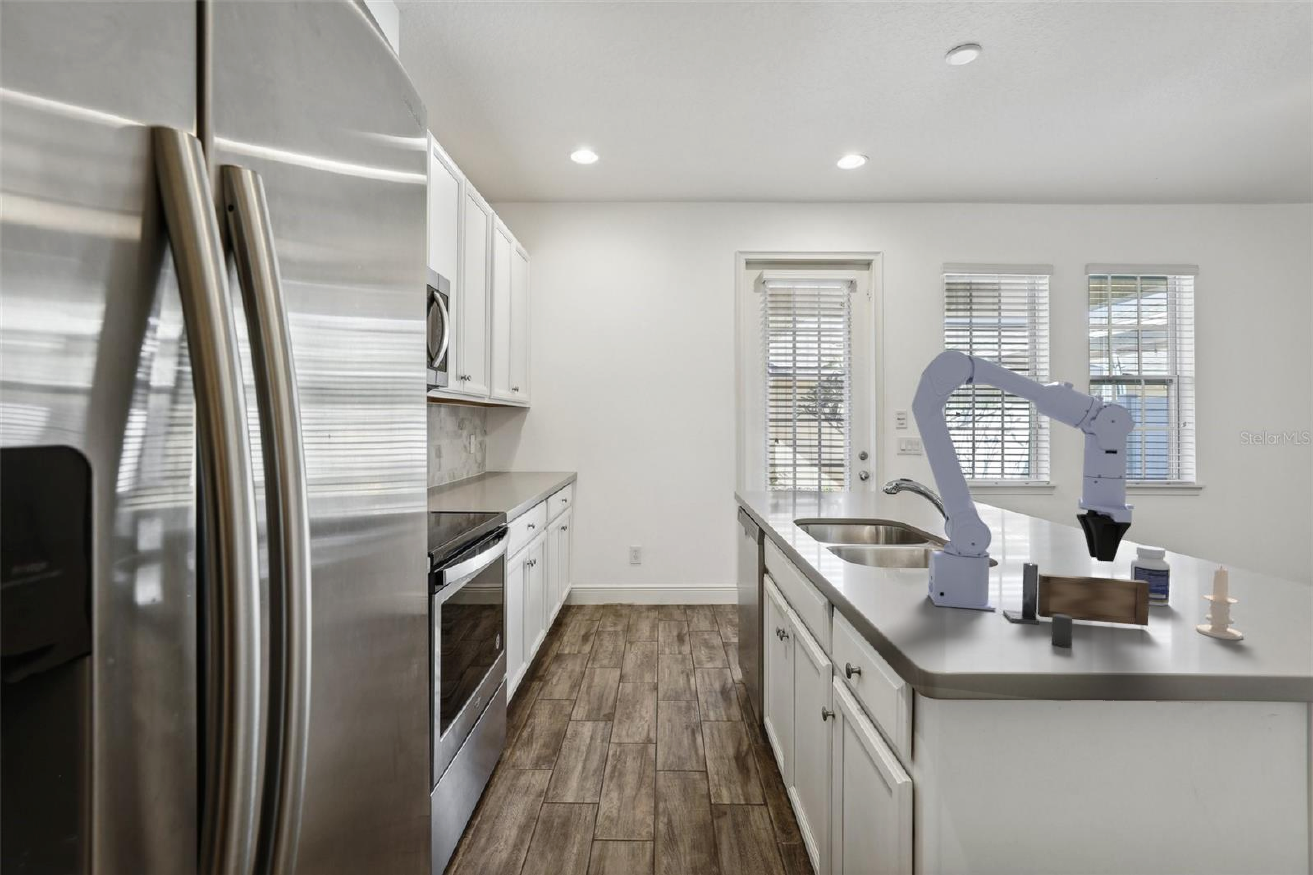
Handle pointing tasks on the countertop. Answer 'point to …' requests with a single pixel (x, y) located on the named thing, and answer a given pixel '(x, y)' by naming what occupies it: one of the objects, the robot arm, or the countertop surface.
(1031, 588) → the gate post
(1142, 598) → the gate
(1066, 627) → the block
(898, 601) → the countertop surface
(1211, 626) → the candle
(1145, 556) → the pill bottle
